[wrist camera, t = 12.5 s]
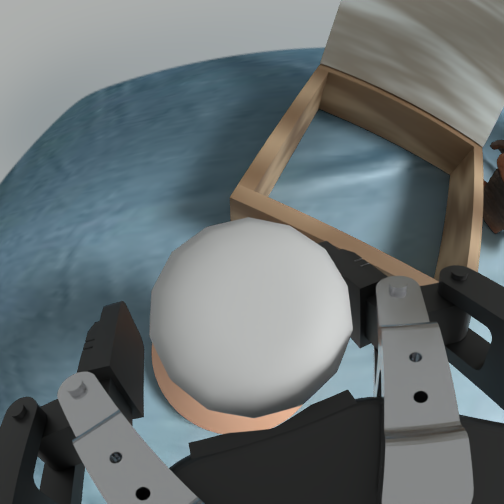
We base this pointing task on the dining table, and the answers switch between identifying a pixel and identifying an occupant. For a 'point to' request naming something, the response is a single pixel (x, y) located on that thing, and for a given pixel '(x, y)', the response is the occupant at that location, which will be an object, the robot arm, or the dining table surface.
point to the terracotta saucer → (210, 418)
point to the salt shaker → (250, 317)
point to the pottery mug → (495, 193)
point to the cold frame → (399, 112)
